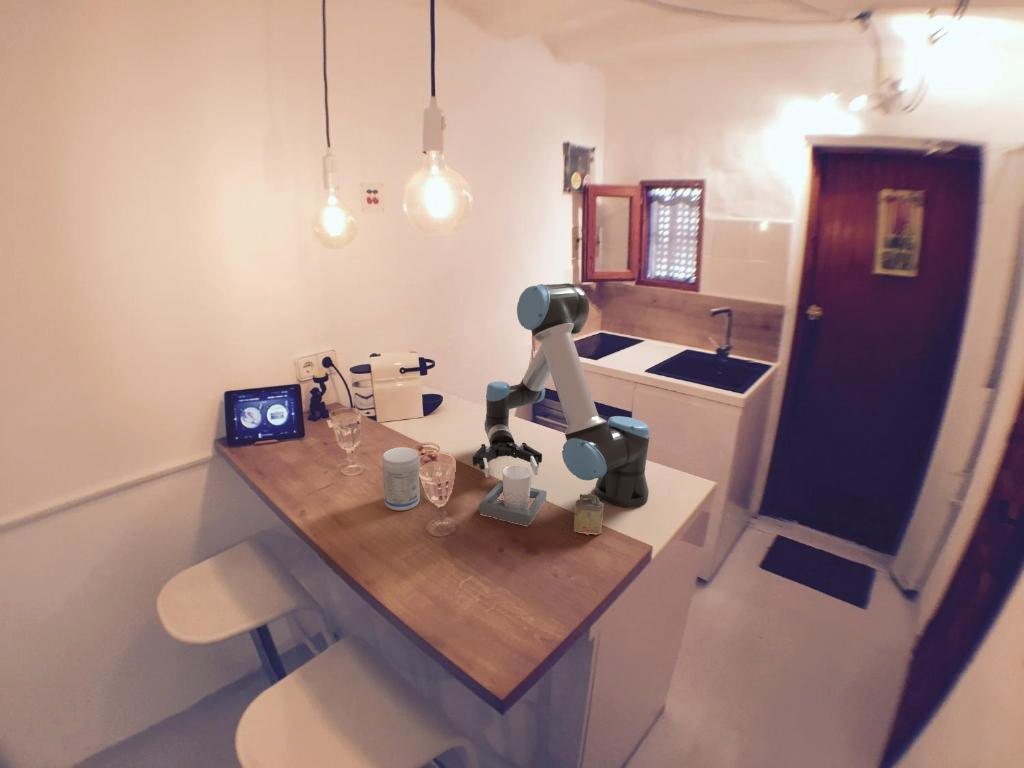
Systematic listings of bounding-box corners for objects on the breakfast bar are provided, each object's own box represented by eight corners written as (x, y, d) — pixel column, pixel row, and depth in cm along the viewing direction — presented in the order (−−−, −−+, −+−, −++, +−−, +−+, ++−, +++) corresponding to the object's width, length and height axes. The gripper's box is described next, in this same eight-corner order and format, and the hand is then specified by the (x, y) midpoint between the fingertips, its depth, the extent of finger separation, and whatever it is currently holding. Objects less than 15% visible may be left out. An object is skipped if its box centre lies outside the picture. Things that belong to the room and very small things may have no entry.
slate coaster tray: (545, 503, 139) (546, 491, 138) (528, 529, 127) (529, 515, 125) (500, 493, 144) (500, 480, 143) (479, 516, 132) (479, 503, 130)
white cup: (527, 514, 131) (529, 480, 128) (498, 510, 132) (499, 476, 129) (532, 499, 138) (534, 466, 135) (504, 495, 140) (505, 463, 137)
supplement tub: (387, 494, 140) (385, 446, 136) (421, 493, 141) (420, 446, 137) (382, 512, 131) (379, 462, 127) (418, 511, 132) (417, 461, 128)
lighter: (600, 528, 127) (604, 493, 124) (602, 537, 124) (605, 501, 121) (573, 526, 128) (575, 491, 125) (573, 534, 124) (576, 499, 121)
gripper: (539, 450, 158) (555, 481, 138) (461, 453, 154) (466, 486, 134) (540, 428, 156) (557, 457, 136) (461, 430, 152) (466, 461, 132)
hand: (512, 471), depth 135 cm, fingers open, 13 cm apart
